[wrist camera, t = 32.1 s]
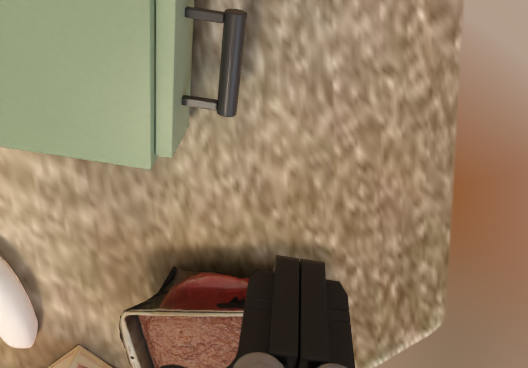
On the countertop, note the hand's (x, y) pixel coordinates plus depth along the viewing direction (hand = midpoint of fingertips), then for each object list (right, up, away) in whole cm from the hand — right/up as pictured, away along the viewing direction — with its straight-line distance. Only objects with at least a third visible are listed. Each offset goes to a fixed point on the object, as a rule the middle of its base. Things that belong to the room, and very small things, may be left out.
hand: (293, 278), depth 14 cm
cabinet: (-15, +15, +19) cm, 29 cm away
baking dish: (-5, -10, +34) cm, 36 cm away
